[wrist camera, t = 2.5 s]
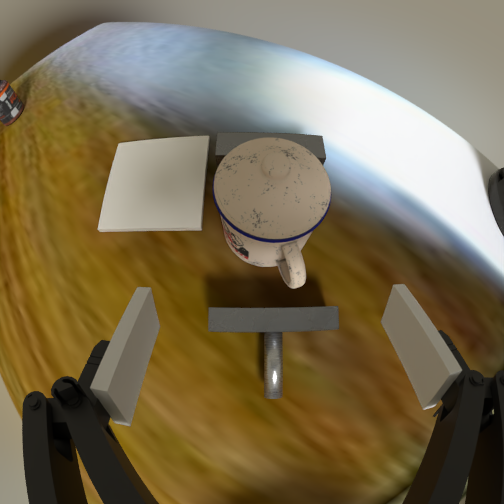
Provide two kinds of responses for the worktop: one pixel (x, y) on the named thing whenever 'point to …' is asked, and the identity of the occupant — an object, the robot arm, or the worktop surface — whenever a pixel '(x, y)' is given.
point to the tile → (156, 185)
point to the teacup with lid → (271, 203)
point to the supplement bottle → (9, 104)
